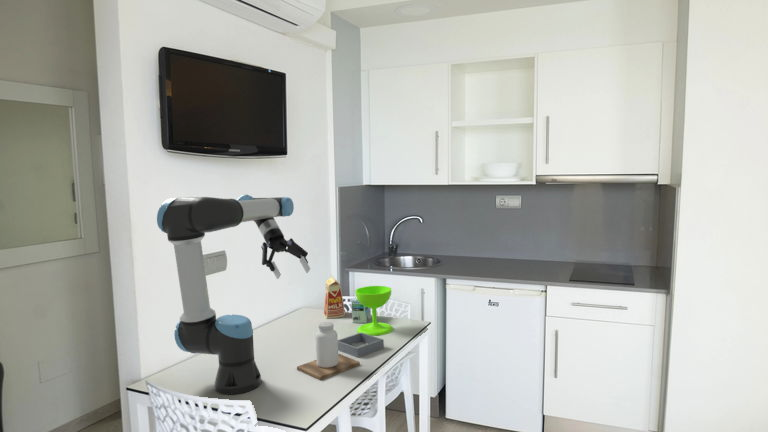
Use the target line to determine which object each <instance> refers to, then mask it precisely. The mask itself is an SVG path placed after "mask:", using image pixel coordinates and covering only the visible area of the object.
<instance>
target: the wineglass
mask: <svg viewBox="0 0 768 432" xmlns="http://www.w3.org/2000/svg"><path fill="white" fill-rule="evenodd" d="M354 291H355V292H354V293H355V297H357V299H358V301H359V302H360V303H361V304H362V305H364V306H365V307H368V308H370V309H371V318H372V322H367V323H363V324H362V325H360V326H358V327H357V330H356V332H357V334H358V333H361V332H362V333H365V334H368V335H371V336H374V337H377V336H384V335H388V334H390V333H392V332H393V331H394V327H393V326H392V325H391V324H388V323H386V322H379V321H378V317H377V315H378V314H377V313H378V312H377V309H379V308H381V307H384V305H386V304H387V302H388V301H389V300H390V299H391V295H392V288H391V287H389V286H385V285H368V286H362V287H358V288H356V289H355V290H354Z"/></svg>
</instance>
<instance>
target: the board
mask: <svg viewBox="0 0 768 432" xmlns="http://www.w3.org/2000/svg"><path fill="white" fill-rule="evenodd" d="M338 360H339V361H338V364H337V365H336V366H334V367H329V368H322V367H319V366H318V365H317V359H315V360H311V361H309V362H306V363H304V364H299V365H298V366H297V365H296V370H297V371H298V372H301V373H303V374H306V375H308V376H310V377H311V378H314V379H316V380H318V381H322V380H325V379H327V378H331V377H332V376H334V375H339V374H340V373H343V372H345V371H348V370H350V369H353V368H356V367H358V366H360V365H361V362H360V361H359V360H356V359H354V358H351V357H348V356H346V355H342V354H340V353H338Z"/></svg>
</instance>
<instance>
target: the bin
mask: <svg viewBox="0 0 768 432" xmlns="http://www.w3.org/2000/svg"><path fill="white" fill-rule="evenodd" d="M361 342H362V343H365V344H364V345H362V346H358V347H356V346H354V345H355V344H358V343H361ZM384 343H385V342H384V339H383V338H380V337H377V336H371V335H368V334H365V333H362V332H361V333H358V332H357V333H355V334H352V335H350V336H346V337H343V338H340V339H338V352H342V353H344V354H347V355H350V356H352V357H355V358H357V359H358V358H360V357H363V356H366V355H368V354H371V353H374V352H377V351H380V350H382V349H384V348H385V346H384V345H385V344H384Z"/></svg>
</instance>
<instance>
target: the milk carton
mask: <svg viewBox="0 0 768 432" xmlns="http://www.w3.org/2000/svg"><path fill="white" fill-rule="evenodd" d="M324 295H325V299H324V309H323V316H324V317H325V318H326V319H339V318H341V317H345V316H346V314H345V313H346V311H345V305H344V299H343V292H342V288H341V285H340V283H339V282H338V280H337V279H336V278H335V277H334V276H333V274H330V277H329V278H328V279H327V280H325V294H324Z"/></svg>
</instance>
